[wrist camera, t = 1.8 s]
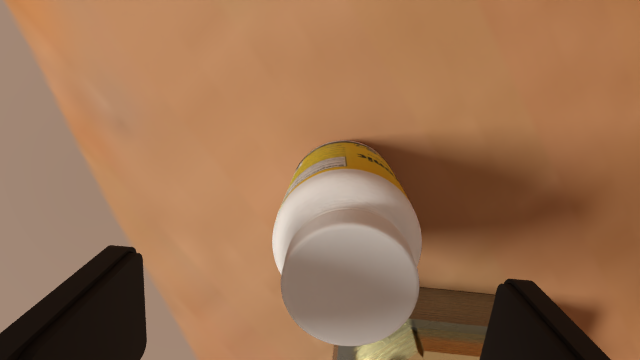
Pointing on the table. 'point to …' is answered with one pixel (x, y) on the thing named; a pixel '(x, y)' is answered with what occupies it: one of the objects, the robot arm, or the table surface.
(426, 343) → the octagonal bottle holder
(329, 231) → the supplement bottle
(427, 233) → the table surface
